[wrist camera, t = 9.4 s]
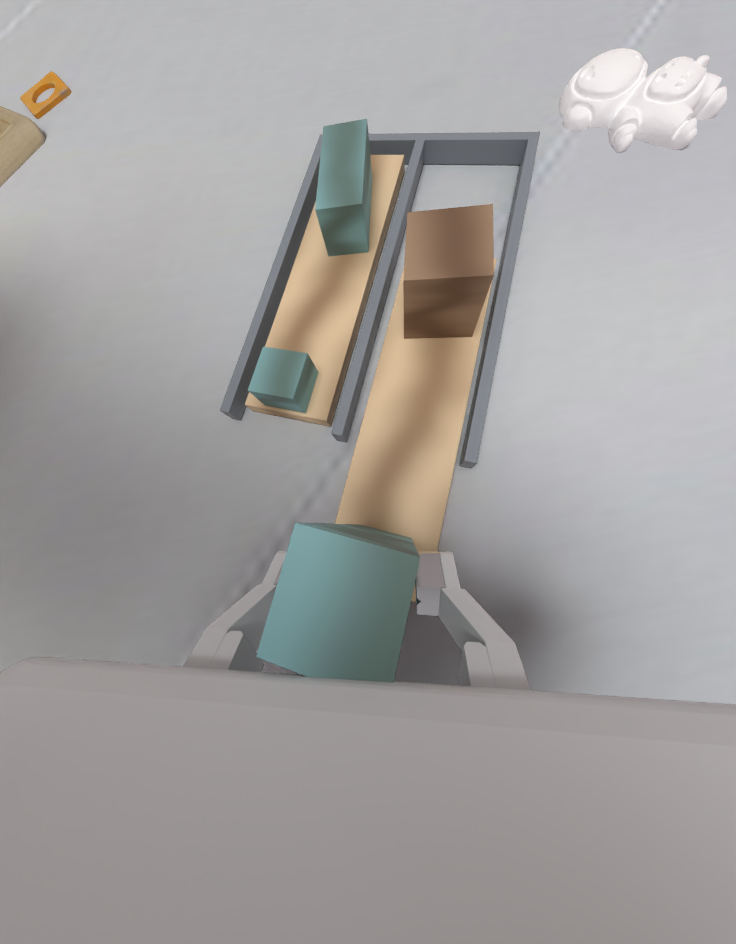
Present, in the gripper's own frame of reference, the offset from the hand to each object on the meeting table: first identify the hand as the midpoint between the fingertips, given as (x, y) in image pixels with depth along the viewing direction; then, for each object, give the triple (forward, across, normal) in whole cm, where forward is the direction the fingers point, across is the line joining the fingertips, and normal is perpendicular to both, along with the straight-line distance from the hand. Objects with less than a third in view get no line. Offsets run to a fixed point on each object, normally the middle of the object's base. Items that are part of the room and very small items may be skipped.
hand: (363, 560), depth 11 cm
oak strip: (+12, -3, -2) cm, 13 cm away
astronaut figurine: (+32, -22, -20) cm, 44 cm away
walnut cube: (+17, -5, -8) cm, 20 cm away
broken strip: (+21, +4, -11) cm, 24 cm away
